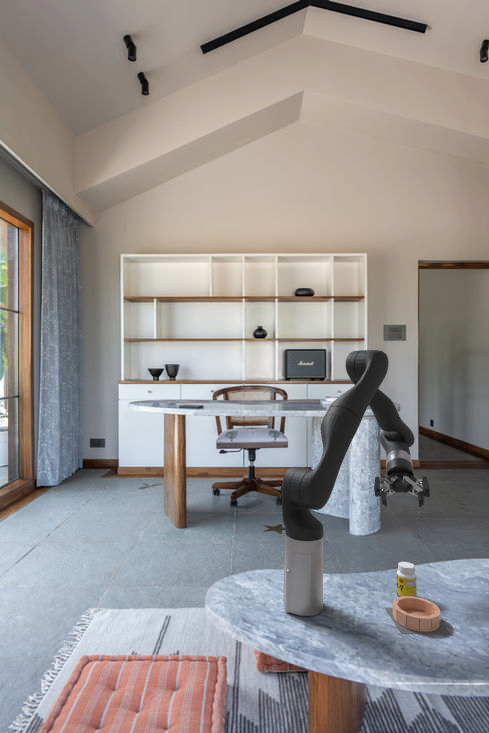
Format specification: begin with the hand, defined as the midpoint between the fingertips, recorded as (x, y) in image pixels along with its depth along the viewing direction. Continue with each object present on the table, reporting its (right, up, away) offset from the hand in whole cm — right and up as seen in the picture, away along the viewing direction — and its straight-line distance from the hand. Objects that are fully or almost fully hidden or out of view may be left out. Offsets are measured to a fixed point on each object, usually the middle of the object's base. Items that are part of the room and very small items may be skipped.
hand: (402, 504), depth 113 cm
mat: (-2, -23, -14) cm, 26 cm away
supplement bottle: (0, -23, -3) cm, 23 cm away
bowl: (-2, -22, -14) cm, 26 cm away
